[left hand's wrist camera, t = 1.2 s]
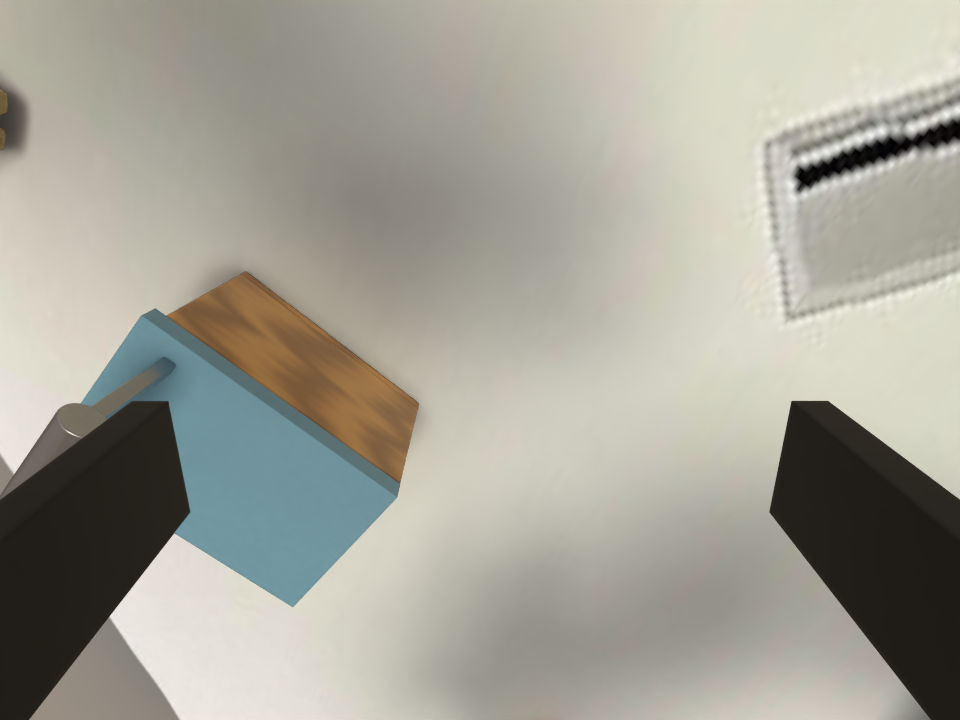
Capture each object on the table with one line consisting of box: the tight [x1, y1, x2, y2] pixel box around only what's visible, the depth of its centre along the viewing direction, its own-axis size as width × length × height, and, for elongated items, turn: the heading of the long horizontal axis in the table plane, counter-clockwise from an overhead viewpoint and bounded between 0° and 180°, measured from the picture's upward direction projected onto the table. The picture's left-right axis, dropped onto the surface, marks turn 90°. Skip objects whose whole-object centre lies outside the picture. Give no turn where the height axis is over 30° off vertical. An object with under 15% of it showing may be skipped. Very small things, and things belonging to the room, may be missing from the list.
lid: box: [0, 309, 400, 607], centre depth 27 cm, size 15×10×9 cm, turn 49°
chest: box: [167, 272, 419, 484], centre depth 36 cm, size 14×10×10 cm, turn 49°
